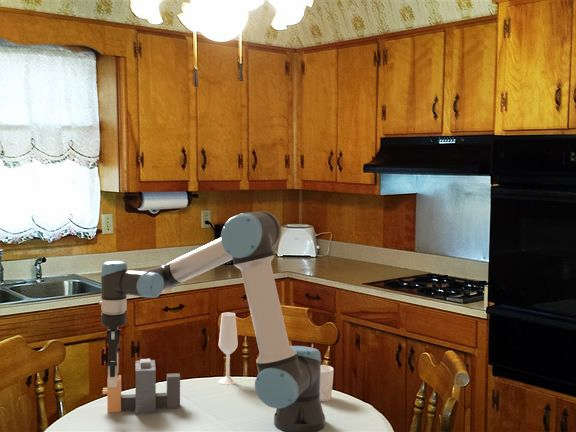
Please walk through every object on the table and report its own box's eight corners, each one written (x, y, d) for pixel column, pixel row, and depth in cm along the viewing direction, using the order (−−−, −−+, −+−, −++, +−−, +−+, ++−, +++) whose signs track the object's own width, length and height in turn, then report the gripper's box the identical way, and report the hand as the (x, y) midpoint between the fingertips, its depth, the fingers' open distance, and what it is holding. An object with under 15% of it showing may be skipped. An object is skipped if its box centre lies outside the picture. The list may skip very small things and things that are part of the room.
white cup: (331, 403, 233) (331, 372, 232) (306, 401, 235) (307, 371, 234) (334, 395, 241) (335, 365, 240) (311, 393, 242) (311, 364, 242)
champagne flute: (217, 384, 250) (218, 316, 248) (218, 378, 256) (219, 311, 254) (236, 384, 250) (237, 316, 248) (237, 378, 256) (238, 311, 254)
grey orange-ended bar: (179, 403, 230) (179, 372, 230) (180, 408, 226) (180, 377, 225) (103, 407, 226) (103, 375, 225) (102, 412, 221) (102, 380, 220)
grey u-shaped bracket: (154, 401, 232) (154, 355, 231) (155, 413, 221) (155, 365, 220) (135, 402, 231) (135, 356, 229) (135, 414, 220) (135, 366, 219)
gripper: (103, 303, 233) (102, 367, 235) (99, 321, 208) (98, 393, 210) (126, 302, 234) (126, 366, 236) (125, 321, 210) (124, 392, 212)
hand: (113, 379), depth 223 cm, fingers open, 13 cm apart
